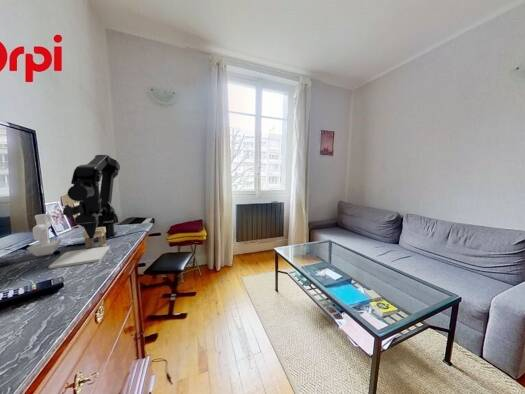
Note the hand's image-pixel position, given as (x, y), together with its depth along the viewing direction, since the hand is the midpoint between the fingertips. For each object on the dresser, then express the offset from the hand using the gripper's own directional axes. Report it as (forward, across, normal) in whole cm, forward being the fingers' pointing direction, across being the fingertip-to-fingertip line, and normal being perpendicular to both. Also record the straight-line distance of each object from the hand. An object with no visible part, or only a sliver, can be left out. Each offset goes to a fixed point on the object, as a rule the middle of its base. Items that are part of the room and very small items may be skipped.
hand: (95, 234), depth 84 cm
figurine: (+5, +1, -15) cm, 16 cm away
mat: (+5, +12, -1) cm, 13 cm away
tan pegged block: (+5, 0, 0) cm, 5 cm away
